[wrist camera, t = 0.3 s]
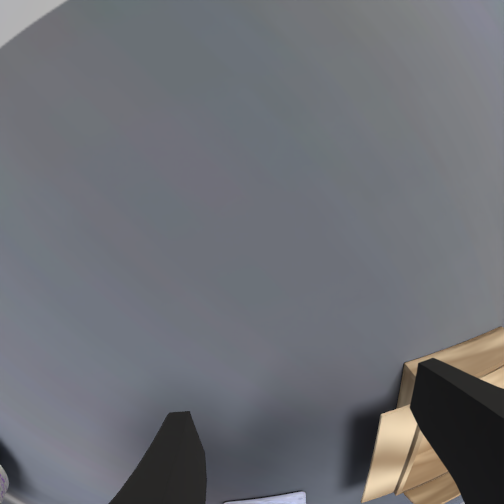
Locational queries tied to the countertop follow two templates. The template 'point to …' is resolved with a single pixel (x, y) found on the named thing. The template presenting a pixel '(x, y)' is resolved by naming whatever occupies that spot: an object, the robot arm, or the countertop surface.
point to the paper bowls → (3, 483)
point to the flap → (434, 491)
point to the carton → (407, 430)
